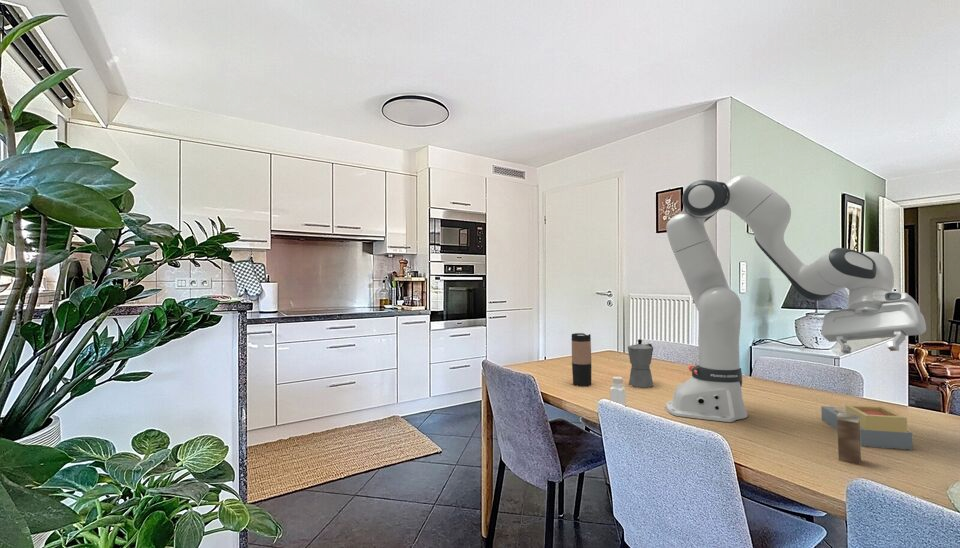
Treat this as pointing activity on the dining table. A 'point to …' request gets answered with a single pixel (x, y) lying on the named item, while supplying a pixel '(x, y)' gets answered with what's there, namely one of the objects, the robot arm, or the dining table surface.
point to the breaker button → (874, 413)
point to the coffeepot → (640, 365)
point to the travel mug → (581, 359)
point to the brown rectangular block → (849, 438)
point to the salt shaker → (618, 391)
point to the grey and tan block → (874, 426)
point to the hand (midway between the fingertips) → (868, 351)
